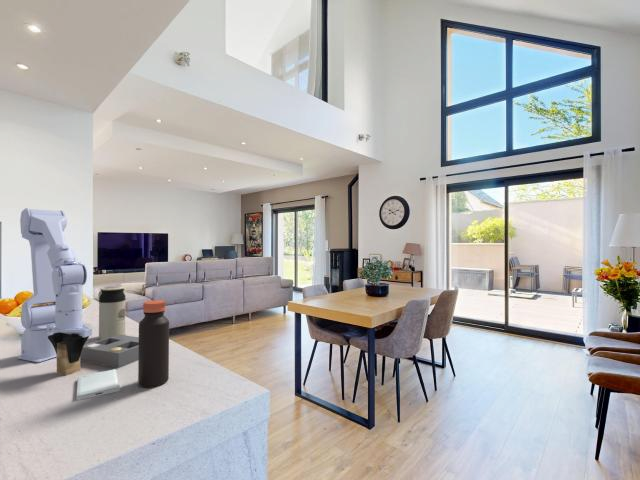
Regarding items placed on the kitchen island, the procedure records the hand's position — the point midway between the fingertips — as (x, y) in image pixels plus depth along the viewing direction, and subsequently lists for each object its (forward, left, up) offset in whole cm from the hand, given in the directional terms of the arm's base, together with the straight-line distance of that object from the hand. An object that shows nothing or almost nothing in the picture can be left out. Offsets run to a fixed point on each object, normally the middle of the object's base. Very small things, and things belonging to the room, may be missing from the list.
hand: (68, 360), depth 87 cm
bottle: (+26, +3, -3) cm, 26 cm away
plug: (0, 0, -3) cm, 3 cm away
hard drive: (+15, -3, -4) cm, 16 cm away
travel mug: (-17, +26, -3) cm, 31 cm away
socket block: (+2, +13, -3) cm, 13 cm away
